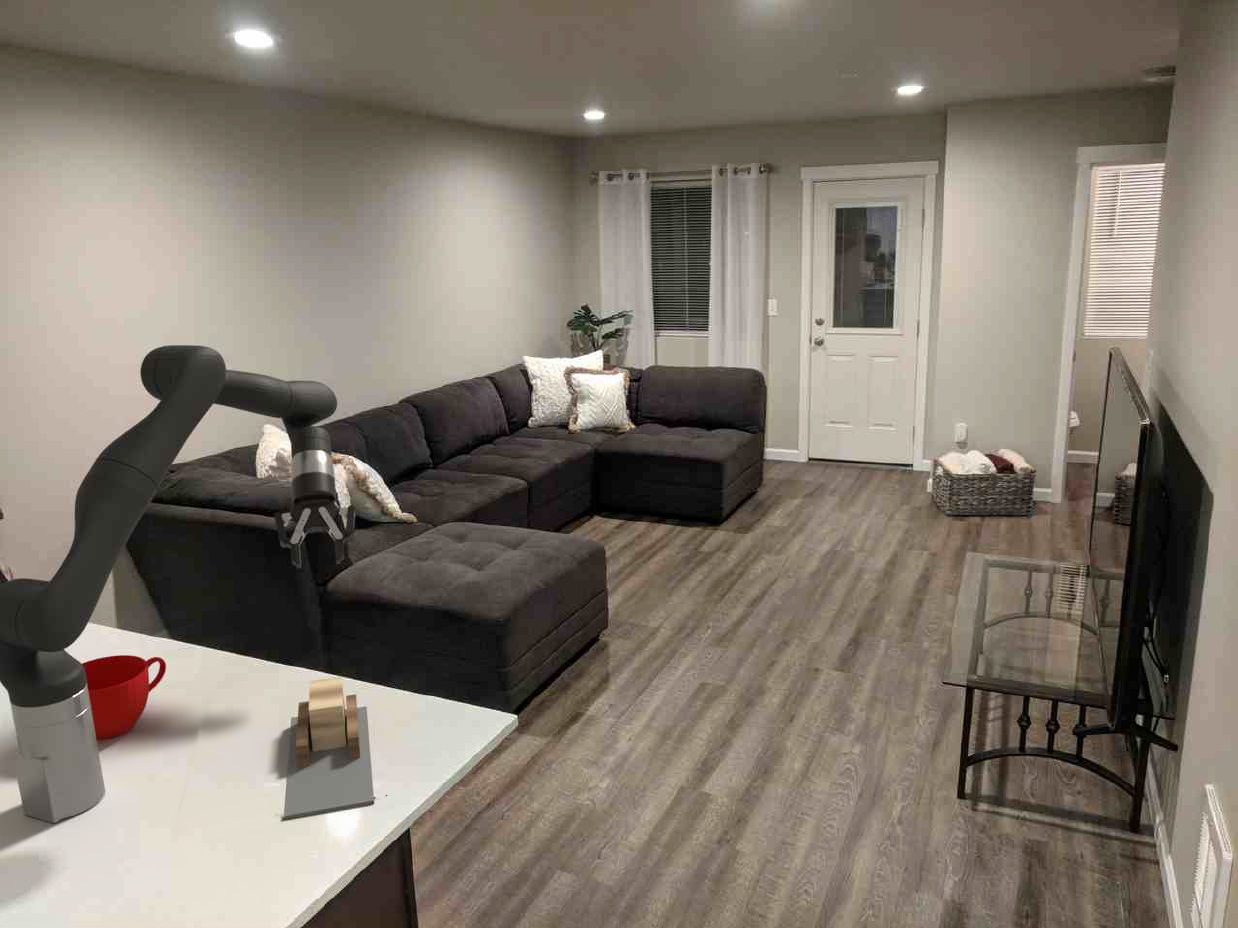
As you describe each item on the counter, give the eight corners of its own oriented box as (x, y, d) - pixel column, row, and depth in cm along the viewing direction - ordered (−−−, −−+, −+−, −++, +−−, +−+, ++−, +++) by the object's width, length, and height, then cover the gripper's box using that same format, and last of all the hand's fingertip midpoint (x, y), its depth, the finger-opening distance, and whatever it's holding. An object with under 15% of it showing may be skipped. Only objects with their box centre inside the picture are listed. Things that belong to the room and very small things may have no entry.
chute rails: (360, 757, 143) (358, 736, 142) (298, 767, 140) (296, 746, 139) (357, 713, 156) (356, 694, 155) (300, 721, 153) (298, 702, 152)
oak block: (346, 746, 146) (342, 705, 144) (312, 751, 145) (308, 710, 143) (345, 715, 155) (341, 676, 154) (313, 719, 154) (309, 681, 152)
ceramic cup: (193, 710, 158) (186, 656, 156) (96, 758, 144) (86, 699, 142) (147, 692, 165) (139, 639, 162) (49, 736, 151) (39, 680, 148)
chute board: (374, 803, 132) (373, 800, 132) (284, 819, 129) (284, 816, 129) (366, 708, 158) (366, 706, 158) (291, 720, 155) (291, 717, 155)
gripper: (268, 473, 165) (272, 559, 157) (353, 466, 169) (360, 550, 161) (273, 494, 171) (277, 578, 163) (355, 487, 175) (362, 568, 167)
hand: (318, 563), depth 162 cm, fingers open, 6 cm apart
